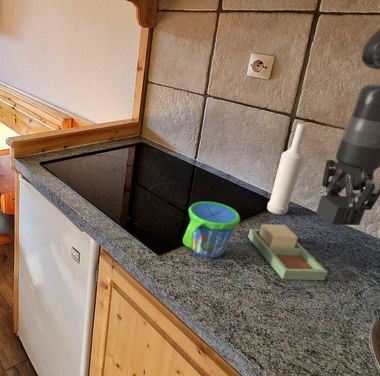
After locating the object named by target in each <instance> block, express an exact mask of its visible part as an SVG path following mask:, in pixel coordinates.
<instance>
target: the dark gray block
mask: <svg viewBox="0 0 380 376" xmlns="http://www.w3.org/2000/svg"><path fill="white" fill-rule="evenodd" d="M320 196H321V197H320V200H319V203H318V206H317V209H316V211H315V212H316V213H317V214H318V215H320V216H321V217H322V218H323V219H324V220H326V221H327V222H328V223H329V224H330V225H334V226H335V225H337V226H338V225H340V226H360V224H361V221H362V220H363V217H364V213H365V211H366V210H360V213H359V215H358V218H357V220H356V222H355V223H354V224H344V223H342V219H343V216H344V213H345V211H346V208H347V207H348V197H347V196H346V195H340V196H327V195H320ZM355 202H356V203H357V200H355Z"/></svg>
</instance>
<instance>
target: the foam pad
mask: <svg viewBox="0 0 380 376" xmlns="http://www.w3.org/2000/svg"><path fill="white" fill-rule="evenodd" d="M259 230H260V232H259V237H260V238H261V239H262V240H263V241H264V242H265V244H266V245H267V246H268V247H270V248H294V247H295V244H296V241H297V242H298V238H299V237H298V236H297V235H296V234H295V233H294V232H293V231H292V230H291V229H290V228H289V226H287V225H286V224H272V223H271V224H269V223H267V224H266V223H262V224H261V226H260V229H259Z"/></svg>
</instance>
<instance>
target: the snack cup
mask: <svg viewBox="0 0 380 376" xmlns="http://www.w3.org/2000/svg"><path fill="white" fill-rule="evenodd" d="M188 216H189V219H190V220H189V224H188V226H187V228H186V230H185V233H184V235H183V237H182V243H183V245H184V246H185V247H188V248H190V249H191V250H192V251H193V252H194V253H195V254H196V255H200V256H202V257H206V258H212V259H215V258H217V257H220V256H222V255H223V254H224V252H225V251H226V248H227V246H228V244H229V242H230V239H231V237H232V236H233V233H234V231H235V228H236V227H237V226H238V225H239V224H240V221H241V218H240V214H239V212H237V210H236V209H234V208H232V207H230V206H229V205H226V204H223V203H220V202H215V201H198V202H194V203H192V204H191V206H189V208H188Z"/></svg>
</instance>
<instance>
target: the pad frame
mask: <svg viewBox="0 0 380 376" xmlns="http://www.w3.org/2000/svg"><path fill="white" fill-rule="evenodd" d="M259 232H260V229H257V228H256V229H253V228H250V229H249V232H248V236H247V238H248V239H249V240H250V241H251V243H252V244H253V245H254V247H256V248H257V250H258V251H259V252H260V254H261V255H262V256H263V257H264V258H265V260H266V261H267V262H268V263H269V264H270V266H271V267H272V268H273V269H274V270H275V272H276V273H277V274H278V276H279V277H280V278H281V279H282V280H296V281H297V280H300V281H301V280H302V281H306V280H307V281H325V279H326V277H327V274H328V271H327V270H326V269H325V268H324V267H323V265H321V264H320V263H319V262H318V261H317V260H316V259H315V258H314V257H313V256H312V255H311V254H310V253H309V252H308V251H307V250H306V249H305V248H304V247H303V246H302V245H301V244H300V243H299V242H298V240H297V241H296V244H295V247H294V248H270V247H268V246H267V245H266V244H265V242H264V241H263V240H262V239H261V238H260V237H259Z"/></svg>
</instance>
